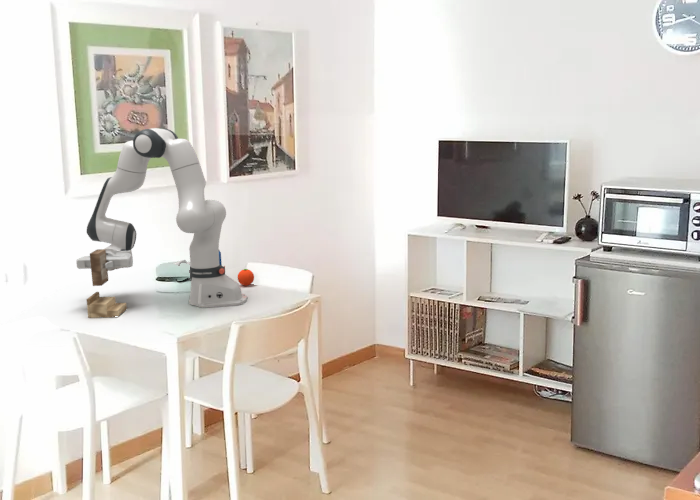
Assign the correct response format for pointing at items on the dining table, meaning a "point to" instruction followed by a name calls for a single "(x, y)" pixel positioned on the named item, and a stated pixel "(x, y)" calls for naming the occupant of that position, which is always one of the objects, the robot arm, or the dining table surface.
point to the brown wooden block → (98, 267)
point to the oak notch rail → (104, 306)
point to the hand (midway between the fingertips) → (98, 266)
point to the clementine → (245, 277)
